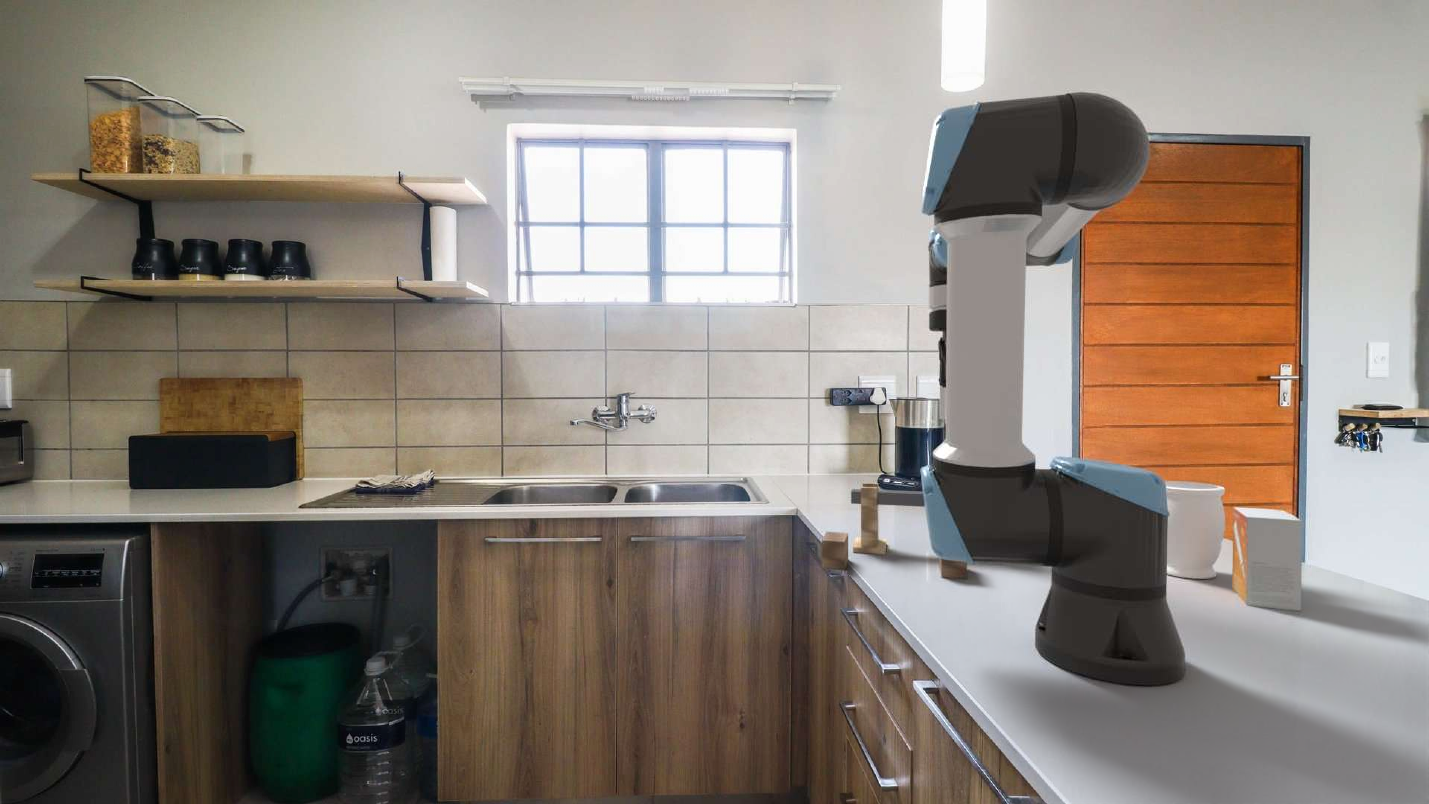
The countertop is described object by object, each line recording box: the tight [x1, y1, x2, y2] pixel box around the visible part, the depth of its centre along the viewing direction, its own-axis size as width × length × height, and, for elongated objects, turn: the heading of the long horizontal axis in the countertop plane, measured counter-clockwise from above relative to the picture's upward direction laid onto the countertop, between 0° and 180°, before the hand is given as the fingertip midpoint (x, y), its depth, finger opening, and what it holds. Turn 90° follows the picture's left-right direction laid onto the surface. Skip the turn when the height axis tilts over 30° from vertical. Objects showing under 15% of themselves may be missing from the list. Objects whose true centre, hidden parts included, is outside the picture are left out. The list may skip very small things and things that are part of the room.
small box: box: [1231, 506, 1303, 612], centre depth 95 cm, size 8×6×13 cm
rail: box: [850, 488, 925, 508], centre depth 124 cm, size 28×3×2 cm, turn 73°
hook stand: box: [852, 482, 887, 555], centre depth 124 cm, size 27×8×12 cm, turn 73°
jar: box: [1163, 480, 1226, 580], centre depth 109 cm, size 11×10×15 cm
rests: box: [821, 531, 968, 580], centre depth 113 cm, size 24×7×5 cm, turn 73°
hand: (949, 421), depth 123 cm, fingers open, 13 cm apart
